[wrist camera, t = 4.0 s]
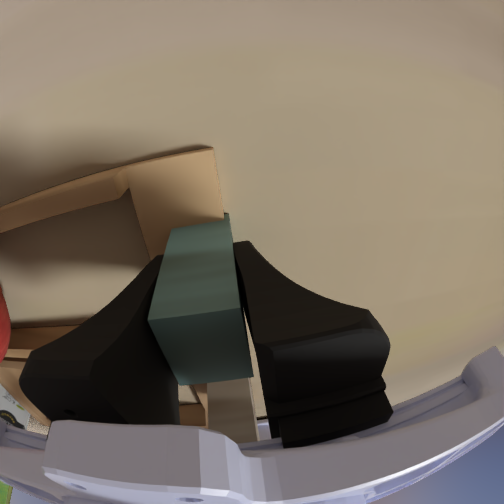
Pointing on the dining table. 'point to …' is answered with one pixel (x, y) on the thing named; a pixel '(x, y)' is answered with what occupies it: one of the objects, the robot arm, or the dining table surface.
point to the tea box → (16, 416)
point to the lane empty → (202, 415)
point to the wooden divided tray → (164, 261)
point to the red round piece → (4, 327)
